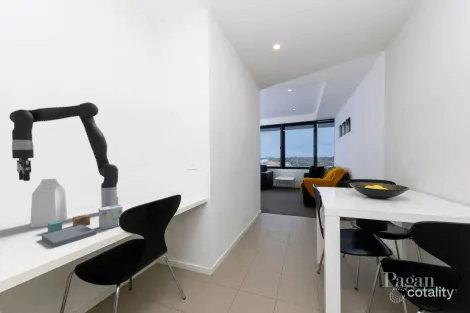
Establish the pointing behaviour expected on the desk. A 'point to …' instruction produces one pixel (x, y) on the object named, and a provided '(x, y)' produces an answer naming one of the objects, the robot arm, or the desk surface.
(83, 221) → the walnut block
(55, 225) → the teal block
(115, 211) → the light bulb box
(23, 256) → the desk surface
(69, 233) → the slate gray board
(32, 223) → the milk
